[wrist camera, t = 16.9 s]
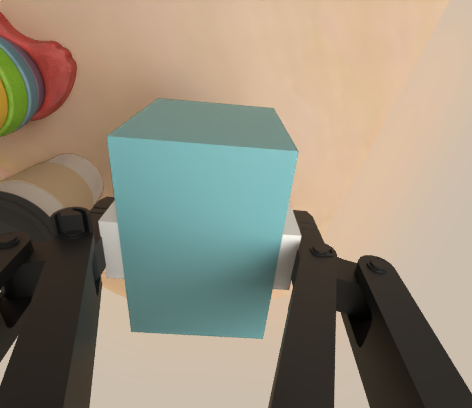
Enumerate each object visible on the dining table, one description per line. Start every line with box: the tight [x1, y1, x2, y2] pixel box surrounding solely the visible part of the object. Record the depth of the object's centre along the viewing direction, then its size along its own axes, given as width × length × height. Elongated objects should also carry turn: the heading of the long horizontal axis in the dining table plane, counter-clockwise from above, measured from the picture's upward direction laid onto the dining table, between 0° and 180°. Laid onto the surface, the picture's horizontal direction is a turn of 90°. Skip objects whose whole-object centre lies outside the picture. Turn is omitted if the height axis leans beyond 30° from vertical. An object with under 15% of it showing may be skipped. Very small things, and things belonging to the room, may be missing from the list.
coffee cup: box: [0, 154, 103, 242], centre depth 31 cm, size 9×9×15 cm
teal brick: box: [107, 98, 299, 339], centre depth 15 cm, size 9×6×7 cm, turn 175°
